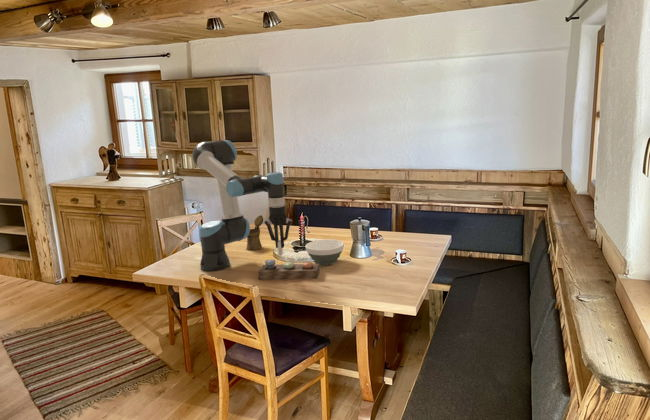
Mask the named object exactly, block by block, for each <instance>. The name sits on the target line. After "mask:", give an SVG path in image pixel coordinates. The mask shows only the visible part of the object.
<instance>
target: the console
mask: <svg viewBox="0 0 650 420" xmlns="http://www.w3.org/2000/svg"><path fill="white" fill-rule="evenodd" d="M284 264H285V263H283V264H275V265H274V270H268V269H267V265H265V264H263V265H262V266H261V268H259V270H258V271H257V275H258V276H257V277H258V281H265V280H268V281H269V280H270V281H271V280H272V281H273V280H276V281H277V280H317V279H318V278H319V276H320V273H321V265H320V264H316V263H313V267H311V269H305V268H303V263H294V267H293V269H286V268H284Z"/></svg>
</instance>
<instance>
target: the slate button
mask: <svg viewBox="0 0 650 420" xmlns="http://www.w3.org/2000/svg"><path fill="white" fill-rule="evenodd" d="M264 262H265V264H264V265H267V269H268V270H274V265H276V260H275V259H267V260H265V261H264Z"/></svg>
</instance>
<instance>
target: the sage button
mask: <svg viewBox="0 0 650 420" xmlns="http://www.w3.org/2000/svg"><path fill="white" fill-rule="evenodd" d="M283 264H284V268H286V269H293V267H294V264H295V263H294V262H292V261H290V262H285V263H283Z"/></svg>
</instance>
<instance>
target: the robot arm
mask: <svg viewBox="0 0 650 420" xmlns="http://www.w3.org/2000/svg"><path fill="white" fill-rule="evenodd" d="M191 157H192V160H193V163H194V164H195V165H196V166H197V167H198V168H199V169H201V170H205V171H206V172H207V173H209V174H210V175H211V176H212V177H214V178H215V179H216V180H217V185H218V190H219V195H220V202H221V206H222V207H221V209H222V213H223V216H222V217H221V220H210V221H208V222H207V221H206V222H205V223H203V224H201V225H200V227H199V238H200V245H201V246H200V247H201V253H202V254H201V257H200V264H199V265H200V270H202V271H204V272H214V271H216V272H217V271H220V270H223V269H227V268H228V267H230V265H231V260H230V259H229V256H228V254H227V252H226V247H225V245H228V244H233V243H234V242H240V241H242V240H245V239H247V237H248V235H249V232H250V229H251V225H250V222H249V220H248V219H247V218H246V217H244V214H243V213H242V212H241V211H240V206H239V200H238V197H242V196H246V195H251V194H257V193H262V192H264V193H267V196H268V206H269V207H268V210H269V212H268V213H269V216H268V219H266V220H265V221H263V223H264V224H265V226H266V227H267V231H268V234H269V237H270V240H271V241H273V242H274V243H275V248H276V249H277V252H278V256H283V254H284V253H283V248H284V247H285V241H287V240H288V238H289V234H290V233H289V232H290V226H291V223H292V222H293V220H292V219H290V218H288V216H287V214H286V213H287V212H286V206H285V205H286V197H285V180H284V175H283V173H282V172H274V171H273V172H269V173H267V174H266V175H263V174H256V175H253V176H252V177H246V178H242V177H241V176H239V175H238V173H237V174H236V173H235V172H234V171H233V167H234V166H235V161H236V160H237V157H238V152H237V149H236V146H235V144H234V143H233V142H232V141H230V140H227V139H219V140H211V141H202V142H199V143H198V144H197V145H196V146H195V147H194V148H193V150H192V155H191ZM285 223H286V226H285V233H284V224H285ZM271 224H272V225H273V227H272V225H271ZM272 228H273V229H272ZM273 230H274V231H273ZM279 238H280V240H279Z"/></svg>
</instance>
